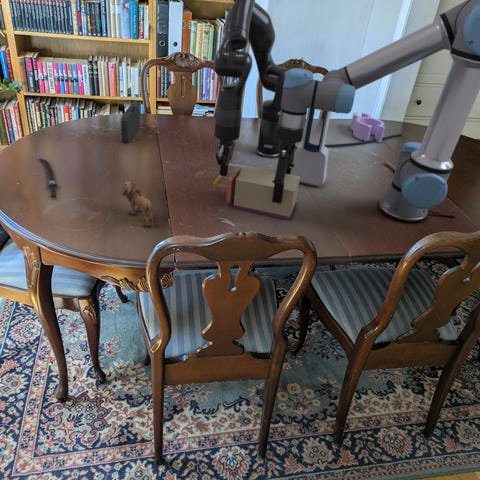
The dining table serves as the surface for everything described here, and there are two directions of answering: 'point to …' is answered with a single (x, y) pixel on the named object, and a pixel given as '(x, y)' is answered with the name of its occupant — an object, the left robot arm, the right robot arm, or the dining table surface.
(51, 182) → the sword
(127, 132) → the handheld gaming console
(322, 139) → the electronic device
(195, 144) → the dining table surface
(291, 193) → the cream rectangular box
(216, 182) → the drawer
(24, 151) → the dining table surface
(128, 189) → the lion figurine
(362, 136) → the clip
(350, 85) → the right robot arm
